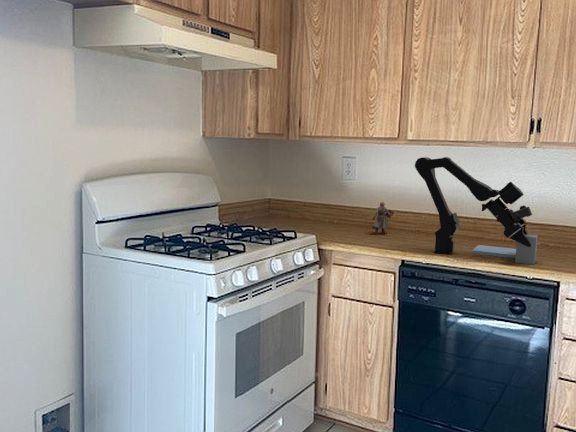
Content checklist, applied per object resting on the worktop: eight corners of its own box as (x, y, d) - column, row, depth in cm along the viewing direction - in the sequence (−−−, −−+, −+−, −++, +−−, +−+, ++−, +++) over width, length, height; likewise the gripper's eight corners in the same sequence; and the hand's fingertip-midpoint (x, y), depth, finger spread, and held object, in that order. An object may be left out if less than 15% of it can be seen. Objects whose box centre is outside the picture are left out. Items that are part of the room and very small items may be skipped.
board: (472, 253, 220) (472, 250, 220) (478, 247, 232) (478, 244, 232) (526, 259, 211) (526, 256, 211) (530, 253, 223) (530, 250, 223)
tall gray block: (515, 262, 205) (517, 235, 204) (517, 259, 211) (519, 233, 209) (533, 264, 202) (536, 237, 201) (535, 261, 208) (537, 235, 206)
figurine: (391, 232, 267) (392, 200, 265) (399, 234, 261) (401, 202, 258) (365, 233, 262) (366, 201, 260) (373, 235, 255) (374, 203, 253)
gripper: (516, 200, 197) (547, 234, 193) (521, 196, 213) (550, 228, 210) (491, 220, 202) (521, 254, 198) (498, 215, 218) (526, 246, 214)
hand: (530, 244), depth 205 cm, fingers closed on tall gray block, 6 cm apart
